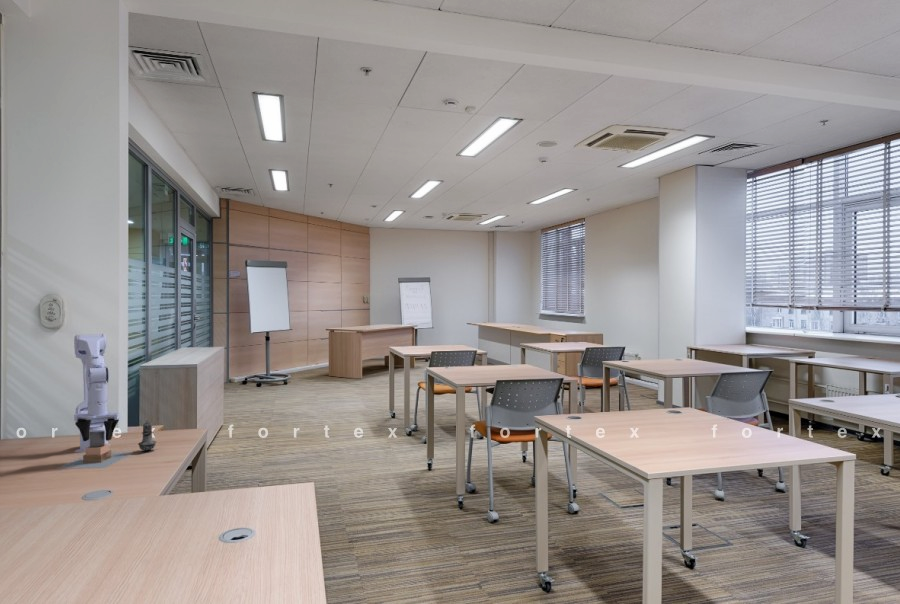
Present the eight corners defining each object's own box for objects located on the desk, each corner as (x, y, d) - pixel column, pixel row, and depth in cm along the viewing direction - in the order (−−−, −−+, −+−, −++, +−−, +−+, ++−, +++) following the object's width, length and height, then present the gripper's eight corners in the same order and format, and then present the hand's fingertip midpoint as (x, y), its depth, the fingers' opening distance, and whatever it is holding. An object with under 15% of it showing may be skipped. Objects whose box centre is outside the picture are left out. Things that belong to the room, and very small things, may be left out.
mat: (89, 454, 191) (89, 453, 191) (134, 453, 192) (134, 452, 192) (56, 469, 173) (56, 468, 173) (105, 468, 174) (105, 467, 174)
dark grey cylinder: (94, 444, 185) (94, 430, 185) (107, 444, 185) (107, 430, 185) (86, 447, 180) (86, 433, 180) (99, 447, 181) (99, 433, 181)
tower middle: (94, 451, 185) (94, 444, 185) (109, 450, 185) (109, 443, 185) (85, 455, 180) (85, 448, 180) (100, 454, 180) (100, 447, 180)
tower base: (93, 457, 186) (93, 450, 186) (111, 457, 186) (111, 450, 186) (83, 462, 180) (83, 455, 180) (101, 462, 180) (101, 455, 180)
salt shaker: (142, 455, 189) (142, 422, 189) (135, 452, 193) (135, 420, 193) (159, 451, 194) (159, 419, 194) (152, 449, 198) (152, 417, 198)
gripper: (68, 404, 178) (68, 443, 178) (112, 403, 179) (112, 442, 179) (81, 400, 185) (81, 438, 185) (123, 399, 186) (123, 437, 186)
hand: (97, 440), depth 183 cm, fingers open, 7 cm apart
